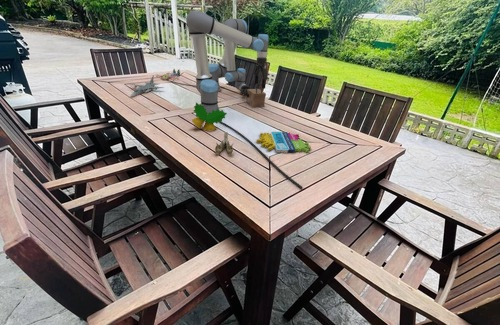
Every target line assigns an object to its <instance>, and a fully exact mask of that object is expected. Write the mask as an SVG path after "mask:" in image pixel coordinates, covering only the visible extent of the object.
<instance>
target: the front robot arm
mask: <svg viewBox="0 0 500 325" xmlns="http://www.w3.org/2000/svg"><path fill="white" fill-rule="evenodd" d="M185 21H186V25H187V29H188V34H189V36H190V37H191V38H192V39H191V40H192V45H193V46H192V47H193V52H194V53H193V54H194V60H195V67H196V73H197V74H196V76H195V86H196V90H197V91H198V93H199V94H200V104H201V106H204V109H206V112H208V113H211V112H212V110H214V111H216V110H217V109H219V111H221V110H220V108H219V102H218V99H219V98H218V97H219V92H218V84H217V82H216V81H214V80H212V75H211V74H210V73H209V65H208V64H209V57H208V56H209V55H208V48H207V41H206V36H207V35H209V36H211V35H214V36H217V37H219V38H221V39H223V40H224V39H227V40H229V41H232V42H234V43H237V45H240V46H241V47H242V49H246V50H247V49H249V50H252V51H254V52H256V63H255V68H254V71H253V75H254V85H256V84H259V78H260V77H259V75H260V73H261V77H262V79H261V83H262V85H261V88H262V90H263V89H266V85H267V80H268V79H269V77H268V69H267V67H268V66H267V65H265V64H267V60H268V59H267V57H268V48H269V35H268V34H266V33H259V34H258V35H257V36H252V35H250V34H248V33H243V32H241V31H238V30H236V29H234V28H231V27H229V26H226V25H224V23H221V22H219V21H217V19H216V18H215V17H212V16H210V15H208V14H206V13H205V12H204V11H201V10H191V11H189V13H187V16H186V20H185ZM208 113H207V115H208ZM218 123H220V124H222V125H223V126H225V127H227V128H229V129H230V130H232V131H234V132H235V133H237V134H238V135H240V136H241V138H243V139H245V140H246V142H248V143H249V144H250V145H252V147H254V149H256V151H258V152H259V154H260V155H262V156H263V157H264V158H265V159H266V161H268V162H269V163H270V164H271V165H272V166H273V168H275V169H276V170H277V171H278V172H280V174H282V176H284V177H285V178H287V179H288V180H289V181H290V182H292V183H293V184H294V185H296V186H297V187H298V188H299V189H300V190H301V189H303V186H302V185H301V184H299V183H298V182H297V181H295V180H294V179H293V178H291V177H290V176H289V175H288V174H286V172H284V171H283V170H282V169H280V167H279V166H277V165H276V164H275V163H274V162H273V161H272V160H271V159H270V158H269V157H267V155H266V154H265V153H264V152H263V151H262V150H261V149H260V148H259V147H258V146H257V145H256V144H254V143H253V141H251V140H250V139H248V138H247V136H245V135H244V134H243V133H241V132H239V131H238V130H237V129H235V128H233V127H232V126H230V125H229V124H227V123H225V122H223V121H222V122H221V121H219V122H218Z"/></svg>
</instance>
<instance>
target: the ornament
mask: <svg viewBox="0 0 500 325" xmlns="http://www.w3.org/2000/svg"><path fill="white" fill-rule="evenodd" d="M219 110H220V108H219V109H217V110H216V111H214V110H212V112H211V113H208V112H206V109H204V106H201V103H198V102H195V105H194V106H193V112H194V113H195V118H192V119H191V122H192V123H193V125H195V127H197V128H198V129H202V130H203V131H206V132H212V131H213V132H214V131H215V130H216V126H215V124H218V123H220V122H219V121H221V122H223V119H226V115H227V114H228V113H227V112H224V110H223V109H221V110H220V111H219ZM207 113H208V115H207ZM214 123H215V124H214Z"/></svg>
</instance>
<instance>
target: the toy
mask: <svg viewBox="0 0 500 325" xmlns="http://www.w3.org/2000/svg"><path fill="white" fill-rule="evenodd" d="M180 75H181V71H180V69H178V70H177V72H176V69H175V68H173V70H172V73H171V72H166V73H163V74H162V75H160V74H157V73H156V74H155V78H158V77H159V78H162V79H161V80H164V81H167V80H168V79H173V80H174V79H176V80H179V79H180V78H179V77H180ZM166 79H167V80H166Z"/></svg>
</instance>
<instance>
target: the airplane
mask: <svg viewBox="0 0 500 325" xmlns="http://www.w3.org/2000/svg"><path fill="white" fill-rule="evenodd" d="M154 78H155V75H154V74H153V75H152V77H151V78H150V81H145V82H144V83H145V84H136V83H135V84H134V83H129V85H131V86H133V90H134V89H135V90H134V91H133V92H132V93H131V94H130V96H129V98H134V97H137V96H138V95H140V94H142V93H148V92H150V91H152V90H153V92H155V91H157V90H158V89H165V87H164V86H157V85H159V83H155V81H154Z"/></svg>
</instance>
